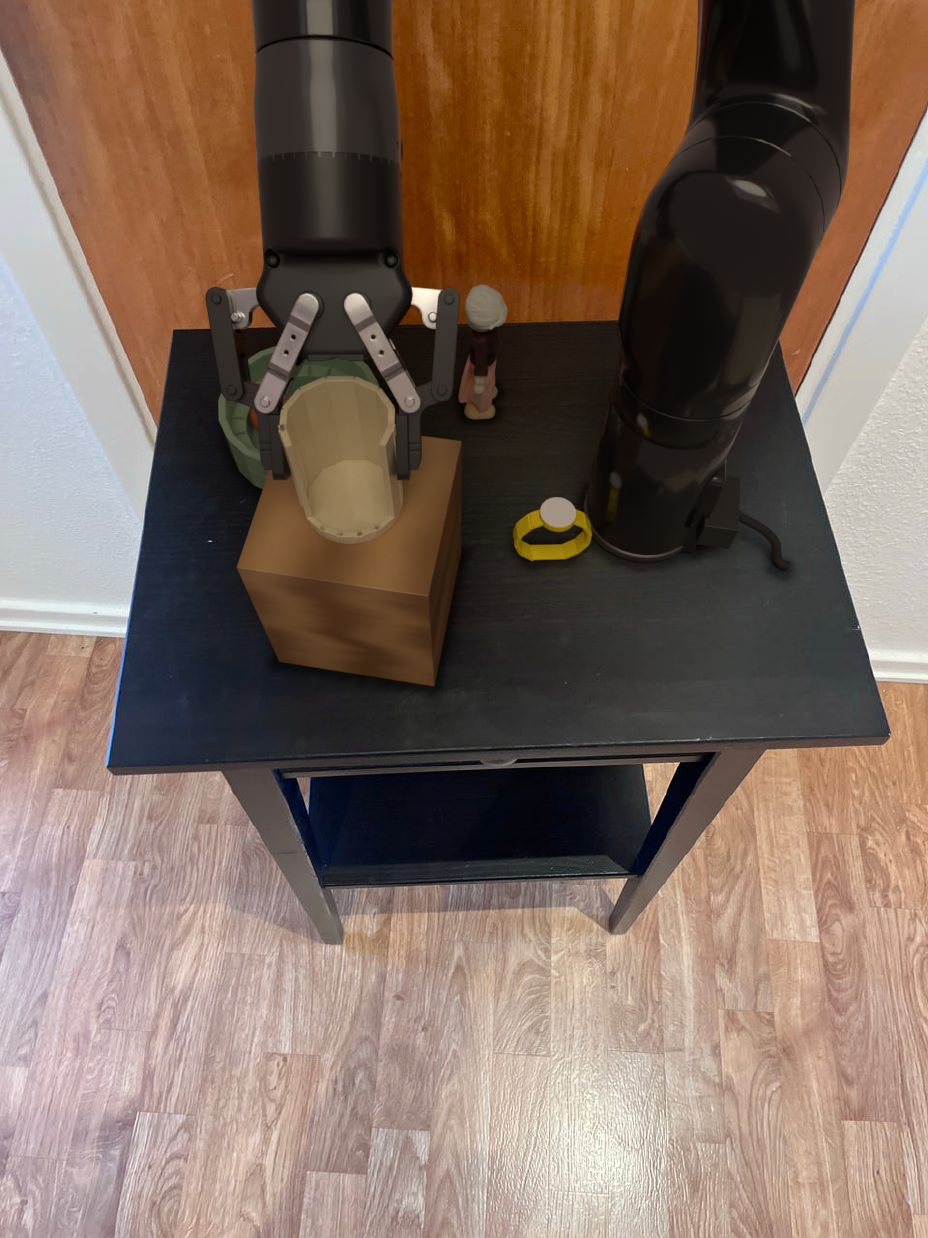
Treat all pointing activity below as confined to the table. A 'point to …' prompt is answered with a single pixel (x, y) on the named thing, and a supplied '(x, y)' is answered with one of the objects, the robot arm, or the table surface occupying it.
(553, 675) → the table surface
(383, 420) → the cup
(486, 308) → the grandmother figurine
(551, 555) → the watch
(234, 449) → the bowl
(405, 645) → the stand
